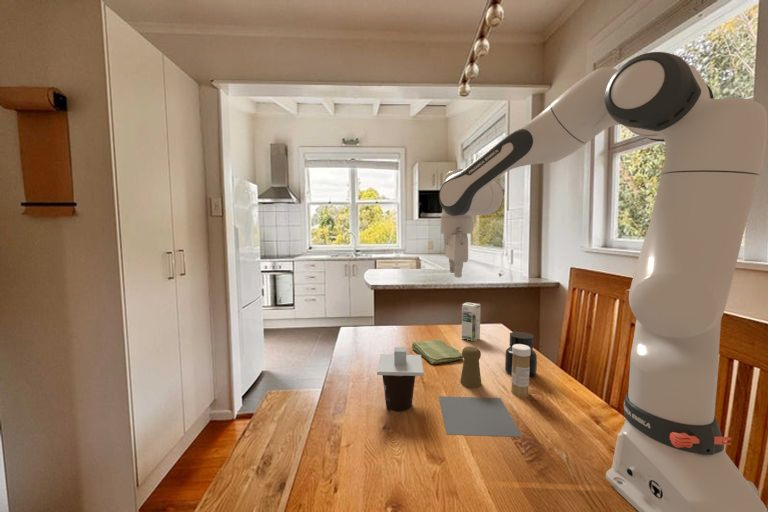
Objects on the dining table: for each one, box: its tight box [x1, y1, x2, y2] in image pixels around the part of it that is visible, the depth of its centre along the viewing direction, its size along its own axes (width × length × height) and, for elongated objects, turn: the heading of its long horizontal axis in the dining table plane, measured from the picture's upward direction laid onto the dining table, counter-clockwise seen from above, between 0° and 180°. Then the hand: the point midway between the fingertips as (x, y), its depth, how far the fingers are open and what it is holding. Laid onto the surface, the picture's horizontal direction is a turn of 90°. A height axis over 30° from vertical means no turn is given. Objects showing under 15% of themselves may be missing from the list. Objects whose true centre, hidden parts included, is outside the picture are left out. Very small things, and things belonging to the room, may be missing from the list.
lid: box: [376, 346, 425, 377], centre depth 82 cm, size 11×11×4 cm
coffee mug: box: [381, 375, 416, 413], centre depth 83 cm, size 12×9×10 cm
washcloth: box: [411, 339, 464, 365], centre depth 117 cm, size 13×18×3 cm
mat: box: [438, 395, 523, 438], centre depth 77 cm, size 16×16×1 cm
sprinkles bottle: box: [510, 344, 531, 398], centre depth 87 cm, size 5×5×13 cm
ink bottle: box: [504, 331, 538, 379], centre depth 101 cm, size 10×9×12 cm
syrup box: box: [460, 302, 482, 342], centre depth 132 cm, size 6×6×14 cm
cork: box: [459, 345, 482, 389], centre depth 93 cm, size 6×6×11 cm
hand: (455, 274), depth 96 cm, fingers open, 8 cm apart
